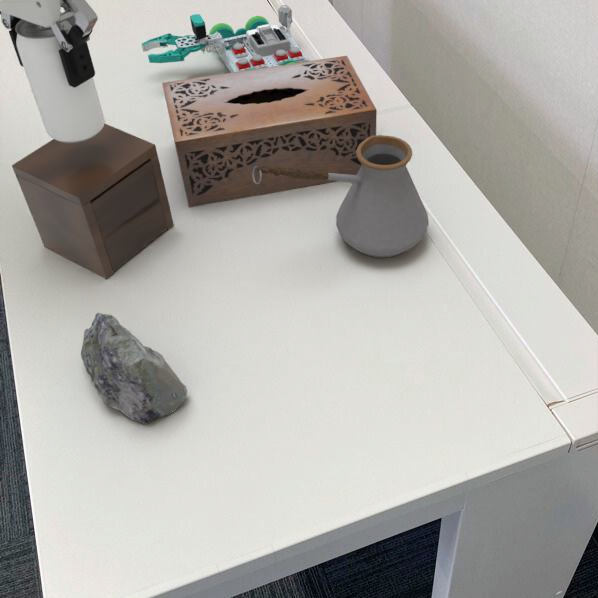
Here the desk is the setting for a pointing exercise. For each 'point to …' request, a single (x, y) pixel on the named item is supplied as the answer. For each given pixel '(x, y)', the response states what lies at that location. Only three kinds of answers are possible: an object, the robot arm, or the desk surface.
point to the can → (57, 86)
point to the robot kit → (235, 43)
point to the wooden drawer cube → (96, 198)
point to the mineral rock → (129, 372)
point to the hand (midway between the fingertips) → (57, 70)
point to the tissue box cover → (267, 127)
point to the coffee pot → (374, 198)
